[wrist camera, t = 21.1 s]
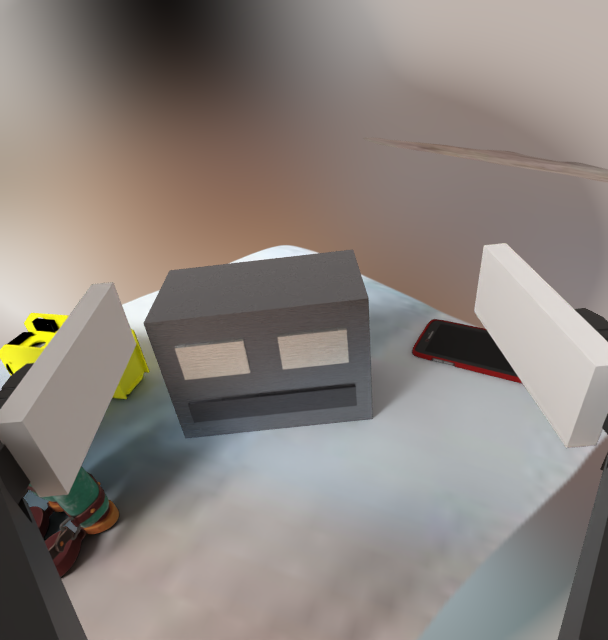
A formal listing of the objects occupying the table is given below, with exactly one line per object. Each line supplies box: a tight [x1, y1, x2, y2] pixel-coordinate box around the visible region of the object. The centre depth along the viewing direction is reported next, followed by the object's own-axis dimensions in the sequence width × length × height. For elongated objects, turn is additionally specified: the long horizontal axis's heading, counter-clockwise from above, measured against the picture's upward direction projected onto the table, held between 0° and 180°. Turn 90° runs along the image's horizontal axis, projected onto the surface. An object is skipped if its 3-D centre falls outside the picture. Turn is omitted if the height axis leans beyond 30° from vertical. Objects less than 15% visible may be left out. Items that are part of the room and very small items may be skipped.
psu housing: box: [144, 250, 372, 438], centre depth 45 cm, size 19×10×14 cm, turn 92°
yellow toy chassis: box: [0, 313, 150, 399], centre depth 53 cm, size 16×6×8 cm, turn 74°
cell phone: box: [412, 319, 523, 384], centre depth 51 cm, size 8×15×1 cm, turn 59°
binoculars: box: [23, 466, 119, 577], centre depth 34 cm, size 9×11×10 cm
